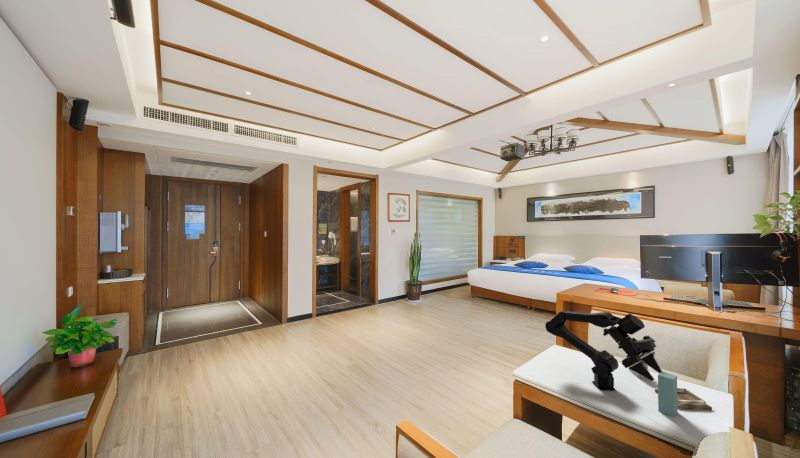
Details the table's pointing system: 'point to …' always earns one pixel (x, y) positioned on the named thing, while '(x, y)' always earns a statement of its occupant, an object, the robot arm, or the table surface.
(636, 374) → the medicine box
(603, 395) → the table surface
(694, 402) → the base plate
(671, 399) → the column block
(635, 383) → the table surface
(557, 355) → the table surface
